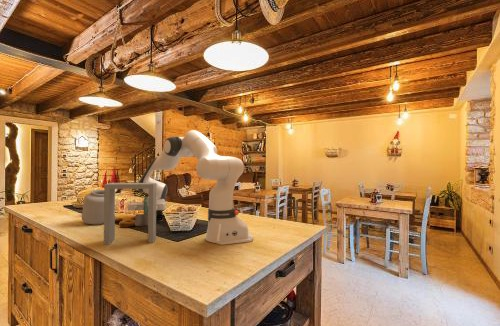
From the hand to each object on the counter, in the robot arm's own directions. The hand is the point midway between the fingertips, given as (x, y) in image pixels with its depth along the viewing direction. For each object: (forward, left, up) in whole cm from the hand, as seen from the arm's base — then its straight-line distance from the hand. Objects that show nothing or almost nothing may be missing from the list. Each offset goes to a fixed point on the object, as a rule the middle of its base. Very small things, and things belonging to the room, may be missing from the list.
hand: (144, 208), depth 137 cm
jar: (+27, -12, -10) cm, 31 cm away
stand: (0, +25, -10) cm, 27 cm away
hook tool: (0, -6, -2) cm, 6 cm away
